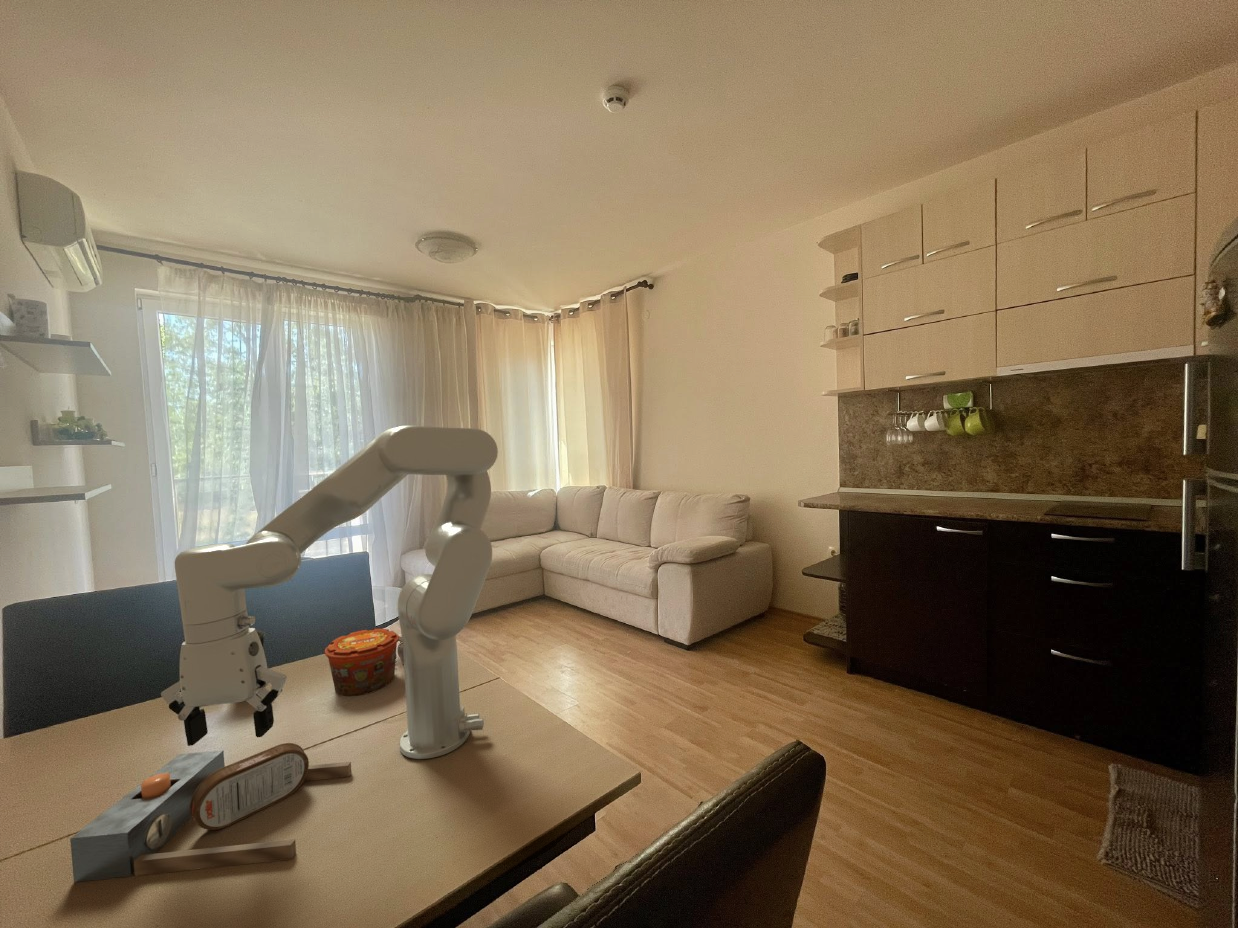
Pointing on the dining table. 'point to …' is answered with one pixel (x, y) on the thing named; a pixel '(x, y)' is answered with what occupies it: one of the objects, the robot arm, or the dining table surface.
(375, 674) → the food container
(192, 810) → the tin
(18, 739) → the dining table surface
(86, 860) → the cabinet
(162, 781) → the button
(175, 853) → the rail channel
